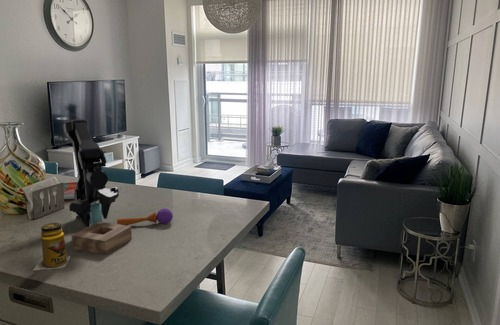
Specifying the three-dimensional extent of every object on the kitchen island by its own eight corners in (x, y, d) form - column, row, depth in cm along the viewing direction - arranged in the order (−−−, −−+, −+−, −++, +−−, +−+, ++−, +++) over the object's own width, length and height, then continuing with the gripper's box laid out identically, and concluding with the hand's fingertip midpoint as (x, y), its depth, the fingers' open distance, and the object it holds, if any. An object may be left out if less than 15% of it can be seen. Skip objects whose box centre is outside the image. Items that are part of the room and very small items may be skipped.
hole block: (72, 248, 121) (71, 235, 120) (100, 233, 133) (99, 221, 132) (106, 254, 117) (104, 241, 116) (131, 238, 129) (131, 226, 128)
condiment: (65, 267, 109) (60, 228, 106) (32, 271, 107) (27, 231, 105) (70, 256, 116) (66, 219, 113) (40, 259, 114) (35, 222, 112)
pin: (88, 229, 137) (86, 205, 136) (96, 225, 141) (94, 202, 139) (97, 230, 136) (95, 206, 134) (105, 226, 140) (103, 203, 138)
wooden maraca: (117, 214, 142) (171, 206, 146) (120, 229, 143) (173, 221, 147) (115, 216, 137) (171, 208, 141) (117, 232, 137) (173, 224, 141)
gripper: (92, 190, 124) (96, 235, 127) (128, 177, 141) (131, 216, 144) (65, 187, 127) (70, 230, 131) (103, 174, 145) (107, 213, 148)
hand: (96, 222), depth 138 cm, fingers open, 9 cm apart
